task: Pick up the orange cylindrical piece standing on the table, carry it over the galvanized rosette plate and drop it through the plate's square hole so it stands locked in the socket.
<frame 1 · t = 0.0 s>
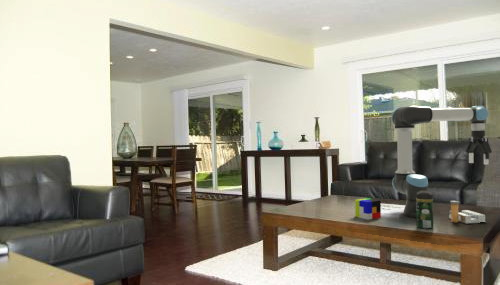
hand: (478, 163, 250), 28 cm above the table, fingers open, 13 cm apart
coffee jar: (424, 227, 202), on the table
rosette plate: (467, 220, 214), on the table
puzzle toy: (368, 217, 229), on the table
orange cylindrical piece: (454, 221, 213), on the table
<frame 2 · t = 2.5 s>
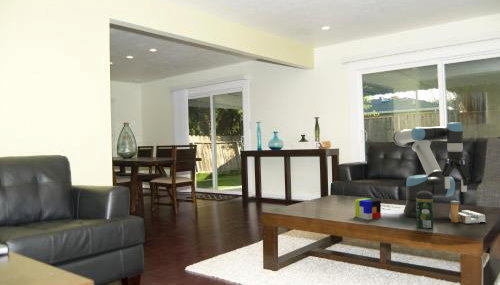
hand: (455, 190, 213), 17 cm above the table, fingers open, 13 cm apart
nothing on the table moved.
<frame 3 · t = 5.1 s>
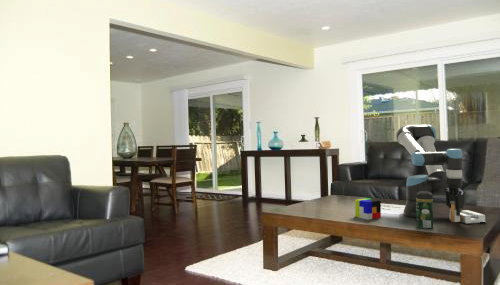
hand: (454, 220, 213), 1 cm above the table, fingers closed on orange cylindrical piece, 3 cm apart
orange cylindrical piece: (454, 221, 213), on the table, touching gripper
everything else where it was.
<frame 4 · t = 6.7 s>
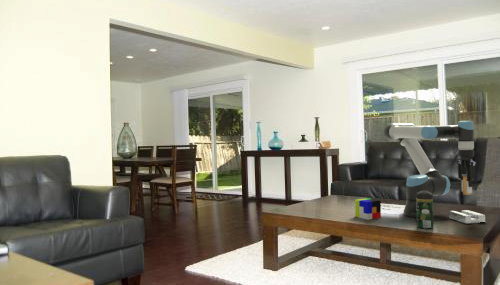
hand: (466, 192, 214), 16 cm above the table, fingers closed on orange cylindrical piece, 3 cm apart
orange cylindrical piece: (466, 194, 214), point 14 cm above the table, touching gripper
everything else where it was.
when the fingers open (3 cm above the table, at t = 8.7 s): orange cylindrical piece stays where it is, on the table.
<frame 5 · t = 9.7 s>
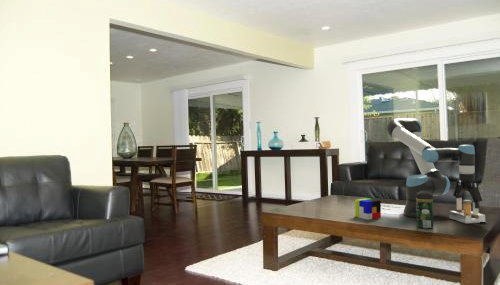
hand: (467, 212, 214), 5 cm above the table, fingers open, 13 cm apart
orange cylindrical piece: (467, 220, 214), on the table
everything else where it was.
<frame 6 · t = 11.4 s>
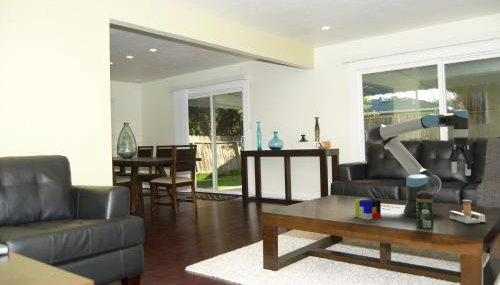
hand: (460, 174, 225), 24 cm above the table, fingers open, 13 cm apart
nothing on the table moved.
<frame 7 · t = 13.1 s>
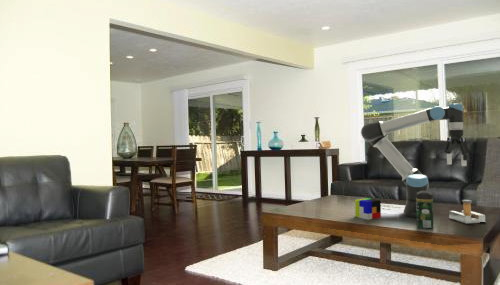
hand: (456, 165, 234), 29 cm above the table, fingers open, 13 cm apart
nothing on the table moved.
at the end: orange cylindrical piece 0.0 cm off-centre on the rosette plate, point 0.0 cm above the rosette plate's base; orange cylindrical piece tilted 0°; the gripper is holding nothing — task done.
